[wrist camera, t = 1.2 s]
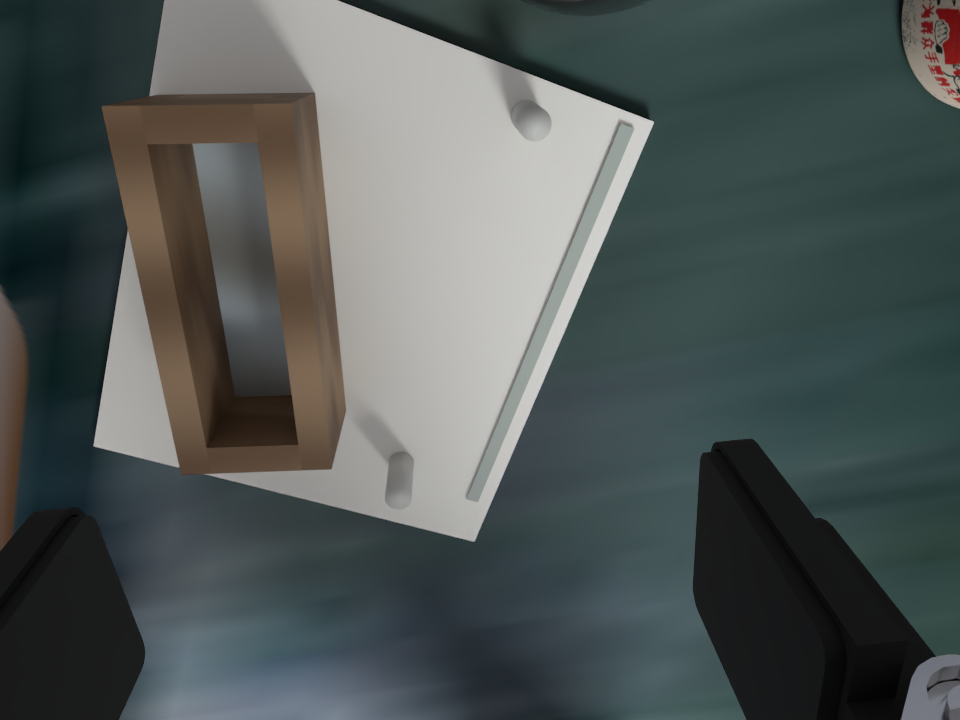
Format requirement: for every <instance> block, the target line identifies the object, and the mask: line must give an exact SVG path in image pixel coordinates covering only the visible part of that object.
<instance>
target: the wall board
mask: <svg viewBox="0 0 960 720" xmlns="http://www.w3.org/2000/svg"><path fill="white" fill-rule="evenodd" d="M249 93H315V98H316V109H317V119H318V129H319V139H320V149H321V159H322V170H323V180H324V190H325V200H326V210H327V220H328V231H329V241H330V251H331V261H332V271H333V281H334V292H335V302H336V312H337V322H338V332H339V342H340V353H341V363H342V373H343V383H344V393H345V403H346V413H345V417H344V422H343V426H342V430H341V434H340V438H339V442H338V446H337V450H336V454H335V458H334V462H333V466H332V469H328V470H301V471H274V472H246V473H219V474H206V475H210V476H214V477H218V478H222V479H226V480H230V481H234V482H238V483H242V484H246V485H250V486H254V487H258V488H262V489H266V490H270V491H274V492H278V493H282V494H286V495H290V496H294V497H298V498H302V499H306V500H310V501H314V502H317V503H321V504H325V505H329V506H333V507H337V508H341V509H345V510H349V511H353V512H357V513H361V514H365V515H369V516H373V517H377V518H381V519H385V520H389V521H393V522H397V523H401V524H405V525H409V526H413V527H417V528H421V529H425V530H429V531H433V532H437V533H441V534H445V535H449V536H453V537H457V538H461V539H465V540H469V541H473V542H475V539H476V537H477V535H478V532H479V530H480V528H481V525H482V523H483V521H484V518H485V516H486V514H487V511H488V509H489V507H490V504H491V502H492V500H493V497H494V495H495V493H496V490H497V488H498V486H499V483H500V481H501V479H502V476H503V474H504V472H505V469H506V467H507V465H508V462H509V460H510V458H511V455H512V453H513V451H514V448H515V446H516V444H517V441H518V439H519V437H520V434H521V432H522V430H523V427H524V425H525V423H526V420H527V418H528V416H529V413H530V411H531V409H532V406H533V404H534V402H535V399H536V397H537V395H538V392H539V390H540V388H541V385H542V383H543V381H544V378H545V376H546V374H547V371H548V369H549V367H550V364H551V362H552V360H553V357H554V355H555V353H556V350H557V348H558V346H559V343H560V341H561V339H562V336H563V334H564V332H565V329H566V327H567V324H568V322H569V320H570V317H571V315H572V313H573V310H574V308H575V306H576V303H577V301H578V299H579V296H580V294H581V292H582V289H583V287H584V285H585V282H586V280H587V278H588V275H589V273H590V271H591V268H592V266H593V264H594V261H595V259H596V257H597V254H598V252H599V250H600V247H601V245H602V243H603V240H604V238H605V236H606V233H607V231H608V229H609V226H610V224H611V222H612V219H613V217H614V215H615V212H616V210H617V208H618V205H619V203H620V201H621V198H622V196H623V194H624V191H625V189H626V187H627V184H628V182H629V180H630V177H631V175H632V173H633V170H634V168H635V166H636V163H637V161H638V159H639V156H640V154H641V152H642V149H643V147H644V145H645V142H646V140H647V138H648V135H649V133H650V131H651V128H652V126H653V124H654V122H653V121H651V120H648V119H645V118H643V117H640V116H638V115H635V114H632V113H630V112H627V111H625V110H622V109H619V108H617V107H614V106H612V105H609V104H606V103H604V102H601V101H599V100H596V99H593V98H591V97H588V96H585V95H583V94H580V93H578V92H575V91H572V90H570V89H567V88H565V87H562V86H559V85H557V84H554V83H552V82H549V81H546V80H544V79H541V78H539V77H536V76H533V75H531V74H528V73H526V72H523V71H520V70H518V69H515V68H513V67H510V66H507V65H505V64H502V63H500V62H497V61H494V60H492V59H489V58H487V57H484V56H481V55H479V54H476V53H473V52H471V51H468V50H466V49H463V48H460V47H458V46H455V45H453V44H450V43H447V42H445V41H442V40H440V39H437V38H434V37H432V36H429V35H427V34H424V33H421V32H419V31H416V30H414V29H411V28H408V27H406V26H403V25H401V24H398V23H395V22H393V21H390V20H388V19H385V18H382V17H380V16H377V15H375V14H372V13H369V12H367V11H364V10H362V9H359V8H356V7H354V6H351V5H348V4H346V3H343V2H341V1H338V0H164V6H163V12H162V18H161V25H160V31H159V37H158V44H157V50H156V56H155V62H154V69H153V75H152V81H151V88H150V94H149V96H154V95H174V94H249ZM94 447H98V448H102V449H106V450H110V451H114V452H118V453H122V454H126V455H130V456H134V457H138V458H142V459H146V460H150V461H154V462H158V463H162V464H166V465H170V466H174V467H178V468H179V463H178V458H177V454H176V449H175V444H174V440H173V435H172V431H171V426H170V421H169V417H168V412H167V407H166V403H165V398H164V394H163V389H162V384H161V380H160V375H159V370H158V366H157V361H156V357H155V352H154V347H153V343H152V338H151V333H150V329H149V324H148V320H147V315H146V310H145V306H144V301H143V296H142V292H141V287H140V283H139V278H138V273H137V269H136V264H135V259H134V255H133V250H132V246H131V241H130V236H129V232H127V239H126V245H125V251H124V257H123V264H122V270H121V276H120V283H119V289H118V295H117V301H116V308H115V314H114V320H113V327H112V333H111V339H110V345H109V352H108V358H107V364H106V371H105V377H104V383H103V389H102V396H101V402H100V408H99V415H98V421H97V427H96V433H95V440H94Z"/></svg>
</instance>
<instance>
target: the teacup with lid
mask: <svg viewBox="0 0 960 720" xmlns="http://www.w3.org/2000/svg"><path fill="white" fill-rule="evenodd" d="M902 38H903V45H904V49H905V53H906V56H907V59H908V62H909V64H910V67H911V69H912V71H913V73H914V74H915V76H916V77H917V79H918V80H919V82H920V83H921V84H922V85H923V86H924V88H925V89H926V90H927V91H929V92H930V93H931V94H932V95H933V96H935V97H936V98H937V99H939V100H941V101H943V102H944V103H946V104H949V105H951V106H954V107H957V108H960V0H904V2H903V8H902Z"/></svg>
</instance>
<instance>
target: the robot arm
mask: <svg viewBox="0 0 960 720" xmlns="http://www.w3.org/2000/svg"><path fill="white" fill-rule="evenodd" d="M693 593H694V599H695V603H696V607H697V609H698V612H699V614H700V616H701V619H702V621H703V623H704V625H705V628H706V630H707V632H708V634H709V637H710V639H711V641H712V643H713V646H714V648H715V650H716V652H717V654H718V657H719V659H720V661H721V663H722V666H723V668H724V670H725V672H726V675H727V677H728V679H729V681H730V684H731V686H732V688H733V690H734V693H735V695H736V697H737V699H738V701H739V704H740V706H741V708H742V710H743V713H744V715H745V717H746V719H747V720H960V655H950V654H949V655H943V656H938V657H936V656H935V655H934V653H933V652H932V651H931V650H930V648H929V647H928V646H927V645H926V643H925V642H924V641H923V640H922V638H921V637H920V636H919V634H918V633H917V632H916V631H915V629H914V628H913V627H912V626H911V624H910V623H909V622H908V621H907V619H906V618H905V617H904V616H903V614H902V613H901V612H900V611H899V609H898V608H897V607H896V605H895V604H894V603H893V602H892V600H891V599H890V598H889V597H888V595H887V594H886V593H885V592H884V590H883V589H882V588H881V587H880V585H879V584H878V583H877V581H876V580H875V579H874V578H873V576H872V575H871V574H870V573H869V571H868V570H867V569H866V568H865V566H864V565H863V564H862V563H861V561H860V560H859V559H858V558H857V556H856V555H855V554H854V552H853V551H852V550H851V549H850V547H849V546H848V545H847V544H846V542H845V541H844V540H843V539H842V537H841V536H840V535H839V534H838V532H837V531H836V530H835V529H834V527H833V526H832V525H831V524H830V523H829V522H828V521H826V520H824V519H821V518H816V519H815V518H814V516H813V515H812V514H811V513H810V511H809V510H808V509H807V507H806V506H805V505H804V503H803V502H802V501H801V500H800V498H799V497H798V496H797V494H796V493H795V492H794V490H793V489H792V488H791V487H790V485H789V484H788V483H787V481H786V480H785V479H784V477H783V476H782V475H781V474H780V472H779V471H778V470H777V468H776V467H775V466H774V464H773V463H772V462H771V461H770V459H769V458H768V457H767V455H766V454H765V453H764V451H763V450H762V449H761V448H760V446H759V445H758V444H757V442H755V441H754V440H753V439H742V440H732V441H722V442H715V443H714V444H713V446H712V449H711V452H707V453H703V454H702V455H701V459H700V472H699V489H698V506H697V524H696V541H695V559H694V576H693ZM144 659H145V647H144V643H143V640H142V637H141V635H140V632H139V630H138V627H137V624H136V622H135V619H134V617H133V614H132V612H131V609H130V606H129V604H128V601H127V599H126V596H125V594H124V591H123V588H122V586H121V583H120V581H119V578H118V576H117V573H116V570H115V568H114V565H113V563H112V560H111V558H110V555H109V552H108V550H107V547H106V545H105V542H104V540H103V537H102V535H101V532H100V529H99V527H98V524H97V522H96V520H95V519H94V518H93V517H92V516H89V515H87V516H85V514H84V512H83V511H81V510H80V509H79V508H75V507H72V508H62V509H52V510H43V511H37V512H34V513H33V514H32V515H31V516H29V517H28V519H27V520H26V521H25V522H24V523H23V525H22V526H21V527H20V528H19V529H18V531H17V532H16V533H15V534H14V535H13V537H12V538H11V539H10V540H9V541H8V543H7V544H6V545H5V546H4V548H3V549H2V550H1V551H0V720H119V718H120V716H121V713H122V711H123V709H124V707H125V705H126V703H127V700H128V698H129V696H130V694H131V692H132V689H133V687H134V685H135V683H136V681H137V679H138V676H139V674H140V672H141V670H142V667H143V664H144Z"/></svg>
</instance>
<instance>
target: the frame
mask: <svg viewBox="0 0 960 720" xmlns="http://www.w3.org/2000/svg"><path fill="white" fill-rule="evenodd" d="M101 107H102V111H103V116H104V121H105V125H106V130H107V135H108V139H109V144H110V148H111V153H112V158H113V162H114V167H115V172H116V176H117V181H118V185H119V190H120V195H121V199H122V204H123V209H124V213H125V218H126V222H127V227H128V232H129V236H130V241H131V246H132V250H133V255H134V259H135V264H136V269H137V273H138V278H139V283H140V287H141V292H142V296H143V301H144V306H145V310H146V315H147V320H148V324H149V329H150V333H151V338H152V343H153V347H154V352H155V357H156V361H157V366H158V370H159V375H160V380H161V384H162V389H163V394H164V398H165V403H166V407H167V412H168V417H169V421H170V426H171V431H172V435H173V440H174V444H175V449H176V454H177V458H178V463H179V468H180V472H181V475H191V474H219V473H246V472H274V471H301V470H328V469H332V466H333V462H334V458H335V454H336V450H337V446H338V442H339V438H340V434H341V430H342V426H343V422H344V417H345V413H346V403H345V393H344V383H343V373H342V363H341V353H340V342H339V332H338V322H337V312H336V302H335V292H334V281H333V271H332V261H331V251H330V241H329V231H328V220H327V210H326V200H325V190H324V180H323V170H322V159H321V149H320V139H319V129H318V119H317V109H316V98H315V93H249V94H174V95H154V96H149V97H144V98H139V99H134V100H129V101H124V102H119V103H114V104H109V105H104V106H101Z"/></svg>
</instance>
